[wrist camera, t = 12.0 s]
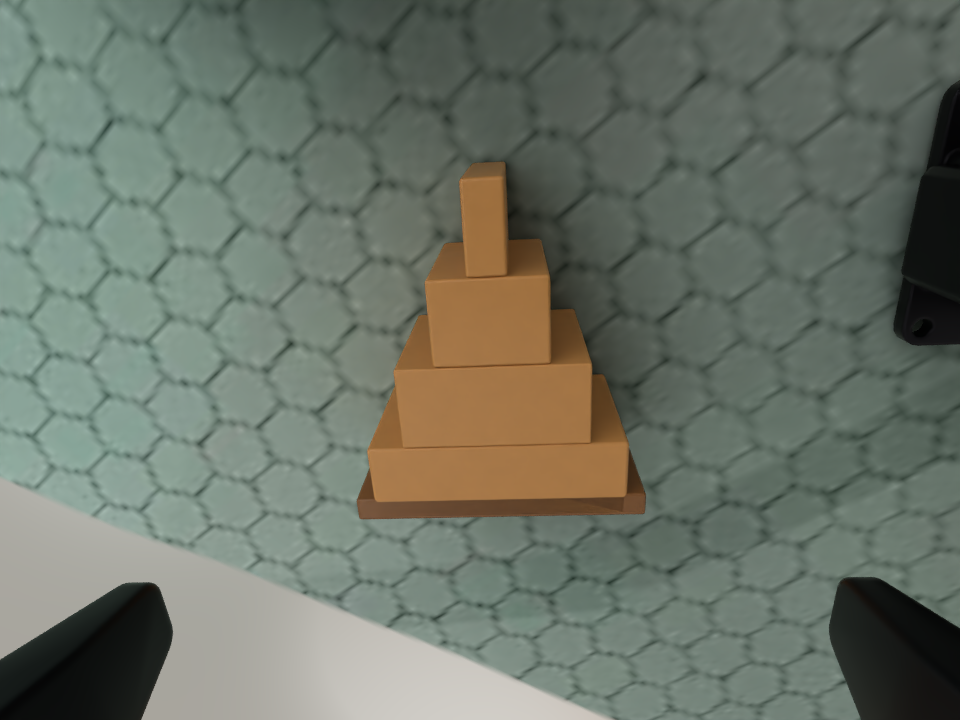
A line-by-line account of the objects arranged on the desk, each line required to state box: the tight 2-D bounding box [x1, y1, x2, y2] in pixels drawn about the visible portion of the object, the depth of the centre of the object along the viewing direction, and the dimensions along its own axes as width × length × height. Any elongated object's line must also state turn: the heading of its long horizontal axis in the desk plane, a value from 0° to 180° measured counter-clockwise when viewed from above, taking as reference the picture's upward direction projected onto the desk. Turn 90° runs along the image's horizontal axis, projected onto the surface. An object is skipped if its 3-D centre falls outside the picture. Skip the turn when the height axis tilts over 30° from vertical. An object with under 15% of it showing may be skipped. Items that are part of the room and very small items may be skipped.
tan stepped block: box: [357, 162, 646, 519], centre depth 15 cm, size 8×7×4 cm
